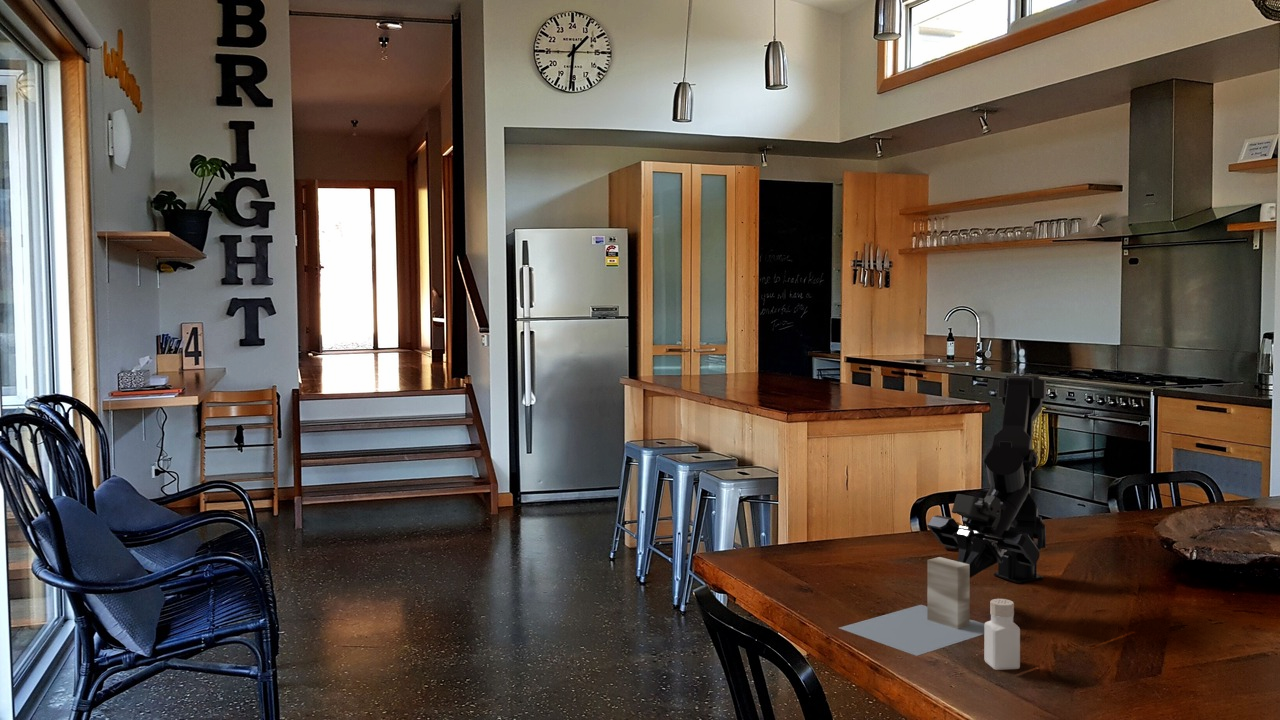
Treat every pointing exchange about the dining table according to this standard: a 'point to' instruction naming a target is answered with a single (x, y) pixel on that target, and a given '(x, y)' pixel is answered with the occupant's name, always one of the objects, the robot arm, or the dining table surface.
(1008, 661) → the pepper shaker
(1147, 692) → the dining table surface
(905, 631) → the mat
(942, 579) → the beige streaked block
